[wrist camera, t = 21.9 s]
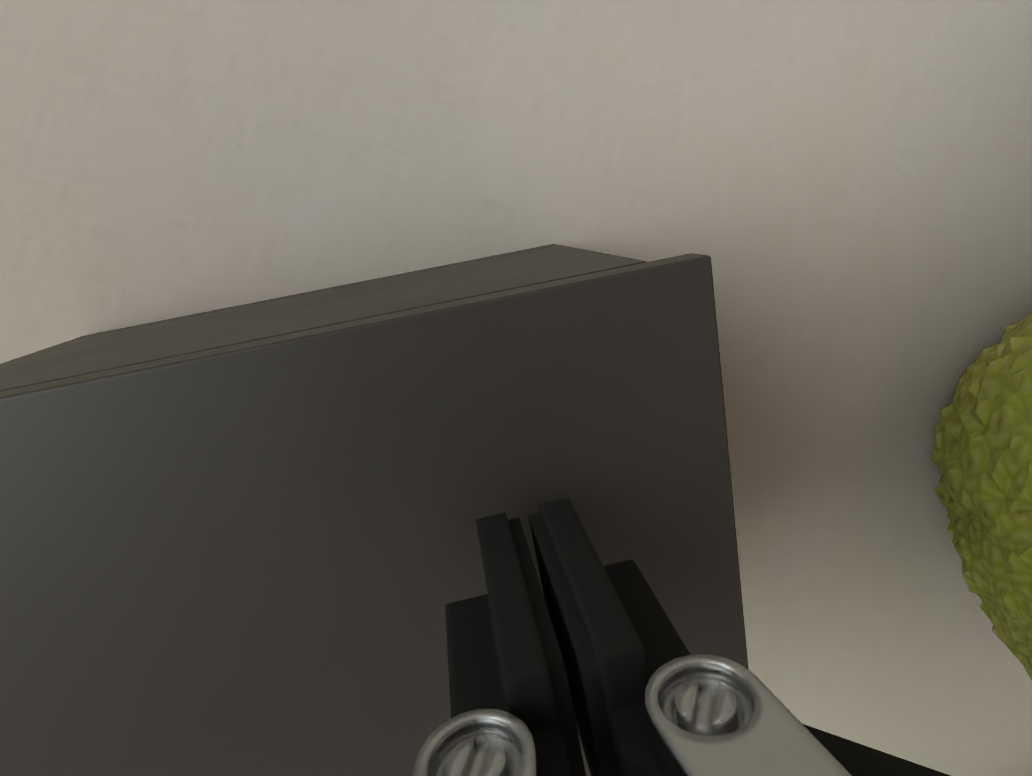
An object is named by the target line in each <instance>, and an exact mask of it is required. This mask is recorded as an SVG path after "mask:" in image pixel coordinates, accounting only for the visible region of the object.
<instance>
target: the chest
mask: <svg viewBox="0 0 1032 776" xmlns="http://www.w3.org/2000/svg"><path fill="white" fill-rule="evenodd" d="M646 262H647V261H642V260H636V259H631V258H626V257H620V256H615V255H610V254H604V253H599V252H594V251H588V250H583V249H578V248H572V247H567V246H562V245H555V244H552V245H547V246H541V247H536V248H531V249H526V250H521V251H516V252H511V253H506V254H500V255H495V256H490V257H485V258H480V259H475V260H470V261H465V262H460V263H454V264H449V265H444V266H439V267H434V268H429V269H424V270H419V271H413V272H408V273H403V274H398V275H393V276H388V277H383V278H378V279H373V280H367V281H362V282H357V283H352V284H347V285H342V286H337V287H332V288H326V289H321V290H316V291H311V292H306V293H301V294H296V295H291V296H286V297H280V298H275V299H270V300H265V301H260V302H255V303H250V304H245V305H239V306H234V307H229V308H224V309H219V310H214V311H209V312H204V313H199V314H193V315H188V316H183V317H178V318H173V319H168V320H163V321H158V322H152V323H147V324H142V325H137V326H132V327H127V328H122V329H117V330H112V331H106V332H101V333H96V334H91V335H86V336H82V337H79V338H76V339H73V340H71V341H67V342H64V343H61V344H58V345H55V346H52V347H49V348H46V349H43V350H40V351H38V352H35V353H32V354H29V355H26V356H23V357H20V358H17V359H14V360H11V361H8V362H5V363H2V364H0V391H5V390H10V389H15V388H20V387H25V386H30V385H35V384H40V383H45V382H50V381H55V380H60V379H65V378H70V377H75V376H80V375H85V374H90V373H95V372H100V371H105V370H110V369H115V368H120V367H125V366H130V365H135V364H140V363H145V362H150V361H155V360H160V359H165V358H170V357H175V356H180V355H185V354H190V353H195V352H200V351H205V350H210V349H215V348H220V347H225V346H230V345H235V344H240V343H245V342H251V341H256V340H261V339H266V338H271V337H276V336H281V335H286V334H291V333H296V332H301V331H306V330H311V329H316V328H321V327H326V326H331V325H336V324H341V323H346V322H351V321H356V320H361V319H366V318H371V317H376V316H381V315H386V314H391V313H396V312H401V311H406V310H411V309H416V308H421V307H426V306H431V305H436V304H441V303H446V302H451V301H456V300H461V299H466V298H471V297H476V296H481V295H486V294H491V293H496V292H501V291H506V290H511V289H516V288H521V287H526V286H531V285H536V284H541V283H546V282H551V281H556V280H561V279H566V278H571V277H576V276H581V275H586V274H591V273H596V272H601V271H606V270H611V269H616V268H621V267H626V266H631V265H636V264H641V263H646Z"/></svg>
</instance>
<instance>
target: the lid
mask: <svg viewBox="0 0 1032 776" xmlns="http://www.w3.org/2000/svg"><path fill="white" fill-rule="evenodd" d="M564 498H569V499H570V501H571V503H572V505H573V507H574V509H575V511H576V513H577V515H578V517H579V519H580V521H581V523H582V525H583V527H584V529H585V531H586V533H587V535H588V537H589V539H590V541H591V543H592V544H593V546H594V548H595V550H596V552H597V554H598V556H599V558H600V560H601V562H602V564H603V566H605V565H609V564H613V563H617V562H621V561H626V560H630V559H631V560H633V561H634V562H635V563H636V565H637V566H638V568H639V569H640V571H641V573H642V574H643V576H644V578H645V579H646V581H647V583H648V584H649V586H650V588H651V589H652V591H653V593H654V594H655V596H656V598H657V599H658V601H659V603H660V604H661V606H662V608H663V609H664V611H665V613H666V614H667V616H668V618H669V619H670V621H671V623H672V624H673V626H674V628H675V629H676V631H677V633H678V634H679V636H680V638H681V639H682V641H683V643H684V644H685V646H686V648H687V649H688V651H689V653H690V654H691V655H702V654H709V655H714V656H719V657H724V658H727V659H729V660H732V661H734V662H736V663H738V664H741V665H743V666H744V667H745V668H746V669H748V660H747V649H746V638H745V627H744V616H743V605H742V594H741V583H740V572H739V562H738V551H737V540H736V529H735V518H734V507H733V496H732V485H731V474H730V463H729V452H728V441H727V430H726V419H725V408H724V398H723V387H722V376H721V365H720V354H719V343H718V332H717V321H716V310H715V299H714V288H713V277H712V266H711V258H710V256H707V255H700V254H692V253H691V254H686V255H681V256H676V257H671V258H666V259H661V260H656V261H651V262H646V263H641V264H636V265H631V266H626V267H621V268H616V269H611V270H606V271H601V272H596V273H591V274H586V275H581V276H576V277H571V278H566V279H561V280H556V281H551V282H546V283H541V284H536V285H531V286H526V287H521V288H516V289H511V290H506V291H501V292H496V293H491V294H486V295H481V296H476V297H471V298H466V299H461V300H456V301H451V302H446V303H441V304H436V305H431V306H426V307H421V308H416V309H411V310H406V311H401V312H396V313H391V314H386V315H381V316H376V317H371V318H366V319H361V320H356V321H351V322H346V323H341V324H336V325H331V326H326V327H321V328H316V329H311V330H306V331H301V332H296V333H291V334H286V335H281V336H276V337H271V338H266V339H261V340H256V341H251V342H245V343H240V344H235V345H230V346H225V347H220V348H215V349H210V350H205V351H200V352H195V353H190V354H185V355H180V356H175V357H170V358H165V359H160V360H155V361H150V362H145V363H140V364H135V365H130V366H125V367H120V368H115V369H110V370H105V371H100V372H95V373H90V374H85V375H80V376H75V377H70V378H65V379H60V380H55V381H50V382H45V383H40V384H35V385H30V386H25V387H20V388H15V389H10V390H5V391H0V776H412V775H413V770H414V765H415V762H416V759H417V757H418V754H419V751H420V749H421V747H422V746H423V744H424V743H425V741H426V740H427V739H428V737H429V736H430V734H431V733H433V732H434V731H435V730H436V729H437V728H438V727H440V726H441V725H442V724H443V723H444V722H446V721H448V720H450V719H451V709H450V690H449V671H448V652H447V633H446V614H445V605H446V604H447V603H451V602H455V601H460V600H464V599H468V598H472V597H476V596H480V595H484V594H488V592H487V586H486V580H485V574H484V568H483V562H482V556H481V550H480V544H479V538H478V532H477V525H476V519H477V518H481V517H486V516H490V515H494V514H499V513H503V512H506V516H507V519H508V520H509V519H514V518H518V517H519V518H520V521H521V525H522V528H523V531H524V534H525V538H526V541H527V544H528V547H529V550H530V554H531V557H532V560H533V563H534V567H535V570H536V573H537V576H538V579H539V583H540V586H541V589H542V585H541V579H540V574H539V569H538V564H537V559H536V554H535V548H534V543H533V538H532V533H531V528H530V522H529V515H531V514H535V513H539V508H538V504H542V503H547V502H551V501H555V500H560V499H564ZM542 592H543V590H542ZM543 596H544V595H543ZM578 735H579V734H578ZM579 741H580V737H579ZM580 746H581V751H582V756H583V762H584V767H585V772H586V776H591V775H590V771H589V768H588V764H587V761H586V758H585V754H584V751H583V747H582V744H581V741H580Z"/></svg>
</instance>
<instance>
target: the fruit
mask: <svg viewBox="0 0 1032 776" xmlns="http://www.w3.org/2000/svg"><path fill="white" fill-rule="evenodd" d="M940 411H941V421H940V422H939V423H937V424H936V425H935V426H933V428H934V430H935V431H936V433H937V436H936V438H935V442H934V446H935V450H934V453H933V455H932V457H931V459H932V460H933V461H934V463H935V464H936V465H937V466H938V467H939V469H940V471H939V473H940V474H941V479H940V482H939V484H940V485H939V486H938V487H937V488H936V489H935V491H936V493H937V495H938V497H939V499H940V501H941V503H942V504H944V505H945V506H946V507H947V511H948V513H949V514H948V517H949V518H951V521H950V524H949V527H948V531H949V532H950V533H951V534H952V535H953V540H952V543H953V544H954V547H955V549H956V550H957V552H958V554H959V556H960V557H961V559H962V574H963V576H964V579H965V581H966V584H967V586H968V588H969V591H970V592H973V593H976V594H978V596H979V597H980V598H981V599H982V601H983V603H982V604H981V606H980V607H981V609H982V610H983V611H984V612H985V614H986V615H987V616H988V617H989V618H990V620H991V621H992V623H993V628H992V631H993V632H994V633H995V634H996V635H997V636H998V637H999V638H1000V639H1001V640H1002V641H1003V642H1004V643H1005V644H1006V645H1007V647H1008V648H1009V649H1010V650H1011V652H1012V653H1013V654H1014V655H1015V656H1016V657H1017V658H1018V660H1019V661H1020V662H1021V663H1022V664H1023V666H1024V667H1025V669H1026V671H1027V673H1028V675H1029V676H1030V678H1031V680H1032V311H1031V313H1030V315H1028V316H1026V317H1024V318H1022V320H1021V321H1019V322H1018V323H1015V324H1012V325H1008V326H1007V327H1006V333H1005V334H1003V336H1002V341H1001V342H1000V343H998V344H996V345H994V346H992V347H988V348H985V349H983V351H982V352H981V353H980V355H979V356H978V358H977V359H976V360H975V362H974V363H973V364H972V365H970V366H968V367H967V369H966V370H965V372H964V373H963V375H962V377H961V378H960V380H959V382H958V385H957V388H956V391H955V394H954V398H953V403H951V404H949V405H947V406H945V407H943V408H941V409H940Z"/></svg>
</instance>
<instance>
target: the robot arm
mask: <svg viewBox="0 0 1032 776" xmlns="http://www.w3.org/2000/svg"><path fill="white" fill-rule="evenodd" d="M538 508H539V513H535V514H531V515H529V522H530V528H531V533H532V538H533V543H534V548H535V554H536V559H537V564H538V569H539V574H540V579H541V585H542V589H541V586H540V583H539V579H538V576H537V573H536V570H535V567H534V563H533V560H532V557H531V554H530V550H529V547H528V544H527V541H526V538H525V534H524V531H523V528H522V525H521V521H520V518H519V517H518V518H514V519H509V520H508V519H507V516H506V512H503V513H499V514H494V515H490V516H486V517H481V518H477V519H476V525H477V532H478V538H479V544H480V550H481V556H482V562H483V568H484V574H485V580H486V586H487V592H488V594H484V595H480V596H476V597H472V598H468V599H464V600H460V601H455V602H451V603H447V604H446V605H445V614H446V633H447V652H448V671H449V690H450V709H451V719H450V720H448V721H446V722H444V723H443V724H442V725H441V726H440V727H438V728H437V729H436V730H435V731H434V732H433V733H431V734H430V736H429V737H428V739H427V740H426V741H425V743H424V744H423V746H422V747H421V749H420V751H419V754H418V757H417V759H416V762H415V765H414V770H413V775H412V776H586V772H585V767H584V762H583V756H582V751H581V746H580V741H581V744H582V747H583V751H584V754H585V758H586V761H587V764H588V768H589V771H590V775H591V776H950V775H947V774H944V773H941V772H938V771H935V770H933V769H930V768H927V767H924V766H921V765H918V764H915V763H912V762H910V761H907V760H904V759H901V758H898V757H895V756H892V755H890V754H887V753H884V752H881V751H878V750H875V749H872V748H870V747H867V746H864V745H861V744H858V743H855V742H852V741H850V740H847V739H844V738H841V737H838V736H835V735H832V734H830V733H827V732H824V731H821V730H818V729H815V728H812V727H809V726H807V725H804V724H802V723H801V722H800V721H799V720H798V719H797V718H796V717H795V716H794V715H793V714H792V713H791V712H790V711H789V710H788V709H787V708H786V707H785V706H784V705H783V704H782V702H781V701H780V700H779V699H778V698H777V697H776V696H775V695H774V694H773V693H772V692H771V691H770V690H769V689H768V688H767V687H766V686H765V685H764V684H763V683H762V682H761V681H760V680H759V679H758V678H757V677H756V676H755V675H754V674H753V673H752V672H750V671H749V670H748V669H746V668H745V667H744V666H743V665H741V664H738V663H736V662H734V661H732V660H729V659H727V658H724V657H719V656H714V655H709V654H702V655H691V654H690V653H689V651H688V649H687V648H686V646H685V644H684V643H683V641H682V639H681V638H680V636H679V634H678V633H677V631H676V629H675V628H674V626H673V624H672V623H671V621H670V619H669V618H668V616H667V614H666V613H665V611H664V609H663V608H662V606H661V604H660V603H659V601H658V599H657V598H656V596H655V594H654V593H653V591H652V589H651V588H650V586H649V584H648V583H647V581H646V579H645V578H644V576H643V574H642V573H641V571H640V569H639V568H638V566H637V565H636V563H635V562H634V561H633V560H631V559H630V560H626V561H621V562H617V563H613V564H609V565H605V566H603V564H602V562H601V560H600V558H599V556H598V554H597V552H596V550H595V548H594V546H593V544H592V543H591V541H590V539H589V537H588V535H587V533H586V531H585V529H584V527H583V525H582V523H581V521H580V519H579V517H578V515H577V513H576V511H575V509H574V507H573V505H572V503H571V501H570V499H569V498H564V499H560V500H555V501H551V502H547V503H542V504H538ZM542 590H543V592H542ZM543 595H544V596H543ZM578 734H579V735H578ZM579 737H580V741H579Z"/></svg>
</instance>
